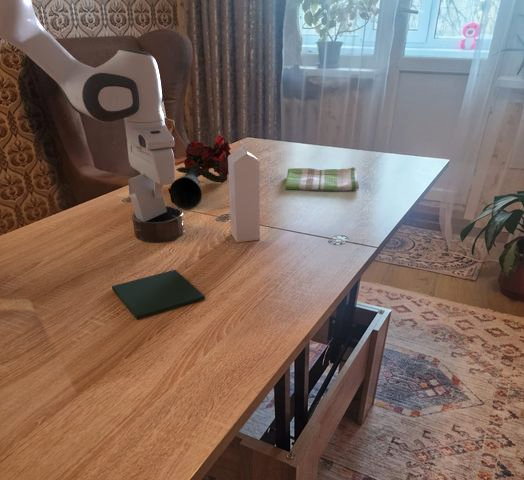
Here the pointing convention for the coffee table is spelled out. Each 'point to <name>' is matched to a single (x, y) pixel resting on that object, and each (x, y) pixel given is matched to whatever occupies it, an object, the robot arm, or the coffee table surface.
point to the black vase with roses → (199, 172)
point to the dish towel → (322, 179)
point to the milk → (244, 195)
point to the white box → (145, 198)
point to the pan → (160, 226)
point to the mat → (157, 294)
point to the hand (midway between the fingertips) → (153, 194)
